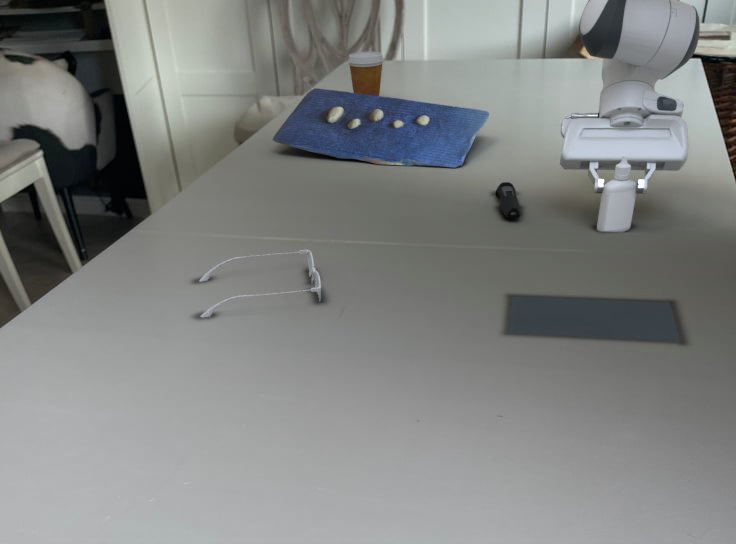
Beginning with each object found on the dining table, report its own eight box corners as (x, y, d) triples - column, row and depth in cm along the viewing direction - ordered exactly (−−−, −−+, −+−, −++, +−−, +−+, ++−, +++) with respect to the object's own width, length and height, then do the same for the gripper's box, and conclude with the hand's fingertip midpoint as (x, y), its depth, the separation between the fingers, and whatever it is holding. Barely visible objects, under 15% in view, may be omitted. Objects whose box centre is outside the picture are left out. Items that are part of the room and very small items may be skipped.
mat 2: (669, 306, 114) (670, 302, 114) (679, 345, 105) (680, 341, 105) (511, 300, 118) (512, 296, 118) (508, 337, 109) (508, 333, 108)
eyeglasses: (324, 310, 118) (322, 284, 115) (200, 323, 116) (195, 297, 114) (311, 270, 130) (309, 245, 127) (198, 281, 128) (194, 257, 126)
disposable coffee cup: (347, 102, 221) (345, 52, 213) (382, 99, 221) (381, 50, 214) (351, 110, 213) (349, 59, 206) (386, 107, 214) (386, 56, 207)
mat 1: (492, 145, 190) (495, 96, 181) (459, 213, 176) (461, 165, 167) (317, 122, 202) (311, 76, 193) (273, 185, 188) (265, 138, 179)
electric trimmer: (501, 225, 143) (502, 207, 141) (494, 195, 155) (495, 178, 153) (522, 225, 143) (524, 206, 140) (514, 195, 154) (515, 178, 152)
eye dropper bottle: (631, 235, 136) (644, 160, 128) (596, 234, 137) (607, 160, 129) (629, 226, 139) (642, 152, 132) (595, 225, 140) (606, 152, 133)
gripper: (563, 102, 133) (557, 181, 132) (693, 101, 130) (688, 183, 129) (560, 124, 140) (554, 200, 138) (684, 124, 136) (679, 202, 135)
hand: (619, 192), depth 133 cm, fingers closed on eye dropper bottle, 5 cm apart
